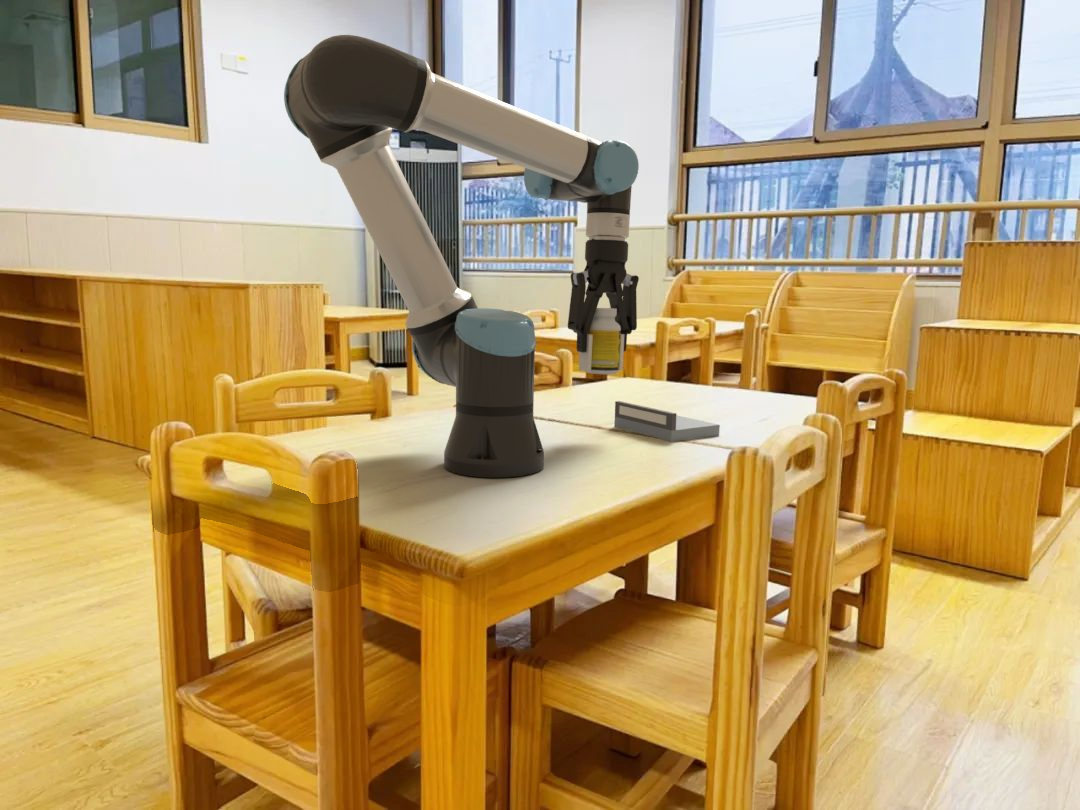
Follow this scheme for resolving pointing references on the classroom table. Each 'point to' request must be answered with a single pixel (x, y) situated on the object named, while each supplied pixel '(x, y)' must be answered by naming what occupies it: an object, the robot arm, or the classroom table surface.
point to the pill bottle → (605, 342)
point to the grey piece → (661, 423)
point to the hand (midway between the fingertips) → (600, 369)
